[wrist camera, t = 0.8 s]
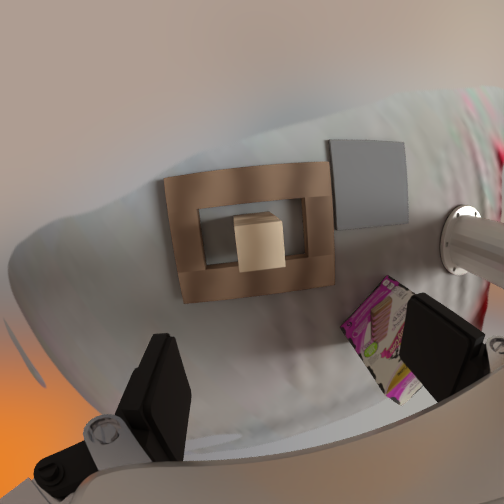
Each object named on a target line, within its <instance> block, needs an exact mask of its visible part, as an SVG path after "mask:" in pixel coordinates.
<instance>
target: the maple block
mask: <svg viewBox="0 0 504 504" xmlns="http://www.w3.org/2000/svg"><path fill="white" fill-rule="evenodd" d="M233 216H234V230H235V238H236V247H237V255H238V263H239V271H240V272H247V271H256V270H264V269H272V268H280V267H286V266H285V252H284V239H283V226H282V221H281V220H280V219H279V218H277V217H276V216H275V215H273V214H272V213H271V212H259V213H250V214H241V215H233Z"/></svg>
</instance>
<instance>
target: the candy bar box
mask: <svg viewBox="0 0 504 504" xmlns="http://www.w3.org/2000/svg"><path fill="white" fill-rule="evenodd" d="M412 295H415V293H414V292H412V291H411V290H409V289H408V288H406V287H405V286H404V285H402V284H400V283H399V282H397V281H396V280H395V279H393V278H392V277H390V276H388V275H387V276H386V277H385V278H384V280H383V281H382V282H381V283H380V284H379V286H378V287H377V288H376V289H375V290H374V291H373V292H372V294H371V295H370V296H369V297H368V298H367V299H366V300H365V301H364V302H363V304H362V305H361V306H360V307H359V308H358V309H357V310H356V311H355V312H354V313H353V314H352V315H351V316H350V317H349V318H348V319H347V320H346V322H345V323H344V324H343V325H342V326H341V327H340V328H341V330H342V331H343V333H344V334H345V336H346V337H347V339H348V340H349V342H350V343H351V345H352V346H353V347H354V349H355V351H356V352H357V354H358V355H359V357H360V358H361V359H362V361H363V362H364V364H365V365H366V367H367V368H368V370H369V371H370V373H371V375H372V376H373V378H374V379H375V381H376V382H377V384H378V385H379V387H380V389H381V390H382V392H383V393H384V395H386V396H387V397H388V398H390V399H392V400H393V401H394V402H396V403H397V404H399V405H401V406H402V405H403V404H405V403H406V402H407V401H408V400H409V399H410V398H411V397H412V396H413V395H414V394H415V393H416V392H417V391H418V390H420V389H421V388H422V387H423V385H422V383H421V382H420V381H419V380H418V379H417V378H416V376H415V375H414V374H413V373H412V372H411V371H410V370H409V368H408V367H407V366H406V365H405V364H404V363H403V362H402V360H401V359H400V356H399V350H400V345H401V340H402V334H403V329H404V323H405V316H406V309H407V303H408V300H409V299H410V298H411V296H412Z"/></svg>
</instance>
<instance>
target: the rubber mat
mask: <svg viewBox="0 0 504 504" xmlns="http://www.w3.org/2000/svg"><path fill="white" fill-rule="evenodd" d="M329 148H330V158H331V168H332V179H333V192H334V208H335V227H336V230H347V229H357V228H367V227H376V226H387V225H397V224H407V223H408V183H407V168H406V156H405V147H404V142H392V141H375V140H329Z"/></svg>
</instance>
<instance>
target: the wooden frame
mask: <svg viewBox="0 0 504 504" xmlns="http://www.w3.org/2000/svg"><path fill="white" fill-rule="evenodd" d="M164 187H165V195H166V203H167V210H168V217H169V224H170V231H171V237H172V243H173V249H174V255H175V261H176V266H177V272H178V277H179V282H180V287H181V292H182V297H183V302H184V304H188V303H198V302H208V301H218V300H227V299H236V298H244V297H252V296H260V295H268V294H276V293H283V292H291V291H298V290H304V289H311V288H318V287H324V286H331V285H335V248H334V222H333V204H332V189H331V177H330V166H329V162H305V163H288V164H274V165H262V166H251V167H241V168H232V169H223V170H215V171H208V172H200V173H193V174H187V175H180V176H174V177H168V178H164ZM294 198H301V203H302V216H303V231H304V247H305V254H297V255H289V256H285V266H286V267H280V268H272V269H264V270H256V271H247V272H240V271H239V263H238V262H230V263H222V264H213V265H206V259H205V252H204V245H203V238H202V231H201V224H200V216H199V209H202V208H210V207H218V206H226V205H234V204H243V203H252V202H262V201H272V200H283V199H294Z"/></svg>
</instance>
